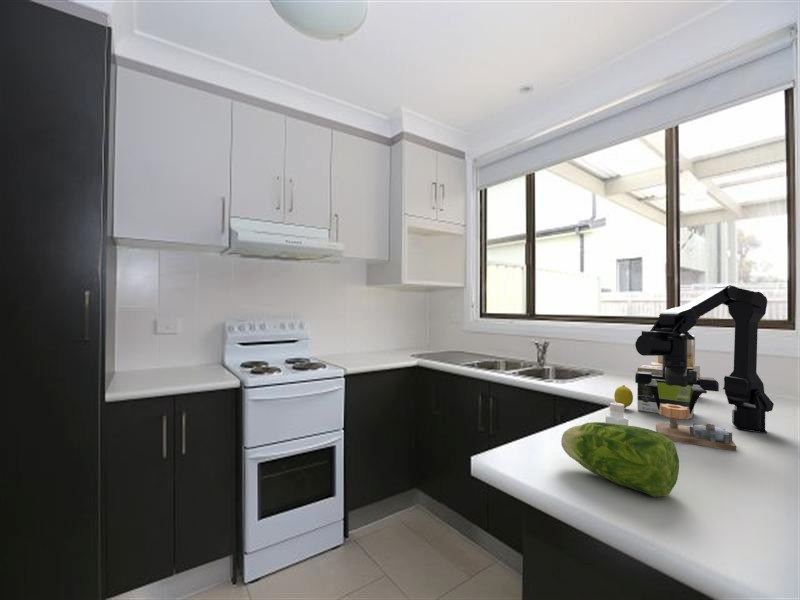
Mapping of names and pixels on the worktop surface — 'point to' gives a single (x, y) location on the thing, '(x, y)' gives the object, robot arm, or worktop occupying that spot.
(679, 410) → the gear
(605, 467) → the lettuce
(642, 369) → the tea box
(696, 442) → the gear board
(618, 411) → the pepper shaker
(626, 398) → the lemon
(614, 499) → the worktop surface
